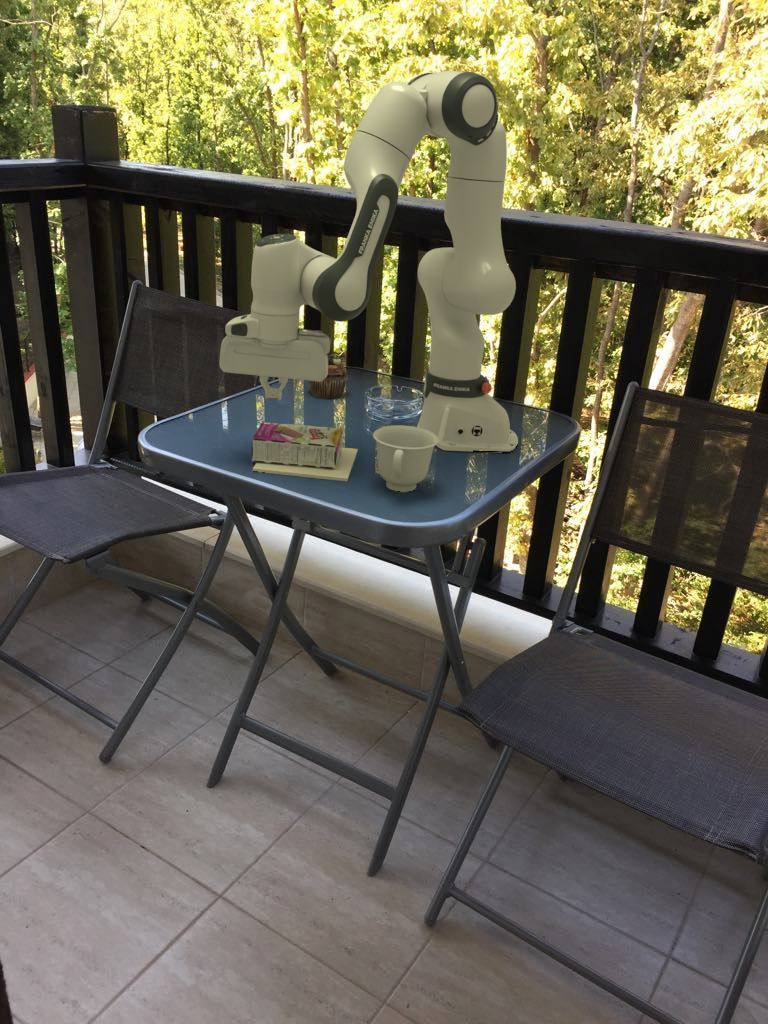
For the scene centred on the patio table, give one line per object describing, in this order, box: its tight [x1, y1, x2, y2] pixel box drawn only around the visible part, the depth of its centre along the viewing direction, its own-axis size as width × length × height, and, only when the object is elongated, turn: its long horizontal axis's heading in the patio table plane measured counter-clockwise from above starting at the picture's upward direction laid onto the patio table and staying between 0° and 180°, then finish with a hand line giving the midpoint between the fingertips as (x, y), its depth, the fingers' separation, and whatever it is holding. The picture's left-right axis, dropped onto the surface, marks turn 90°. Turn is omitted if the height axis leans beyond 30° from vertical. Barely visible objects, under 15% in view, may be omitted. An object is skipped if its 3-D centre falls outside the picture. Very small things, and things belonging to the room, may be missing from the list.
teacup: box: [372, 424, 439, 493], centre depth 158 cm, size 12×15×10 cm
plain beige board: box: [252, 446, 358, 482], centre depth 169 cm, size 18×16×1 cm
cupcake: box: [308, 352, 348, 400], centre depth 208 cm, size 10×10×10 cm
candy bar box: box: [251, 421, 343, 469], centre depth 168 cm, size 11×5×16 cm
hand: (273, 398), depth 164 cm, fingers closed
